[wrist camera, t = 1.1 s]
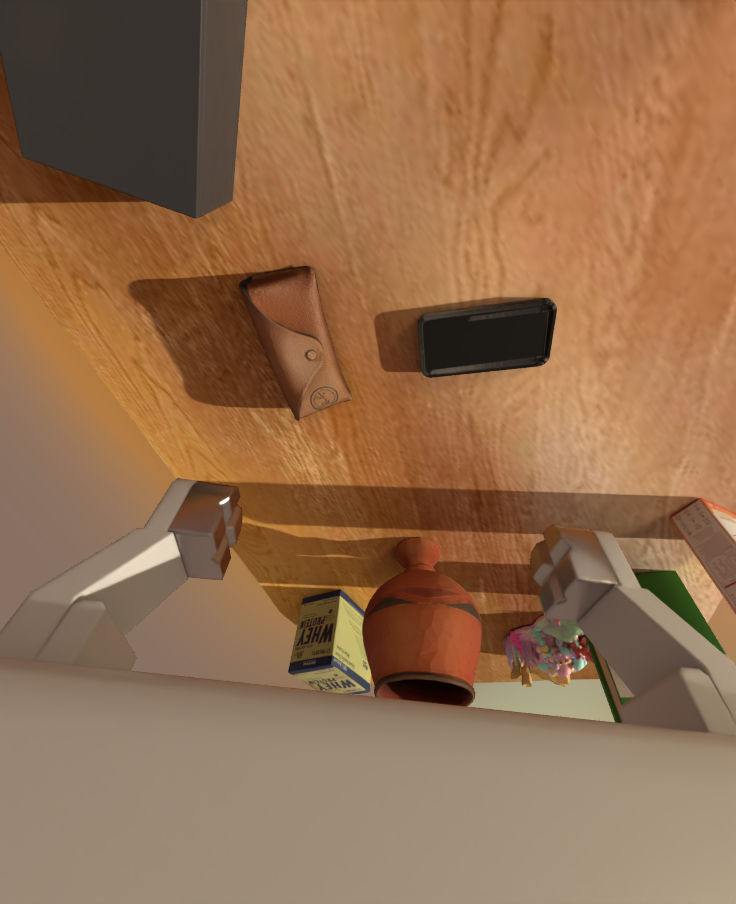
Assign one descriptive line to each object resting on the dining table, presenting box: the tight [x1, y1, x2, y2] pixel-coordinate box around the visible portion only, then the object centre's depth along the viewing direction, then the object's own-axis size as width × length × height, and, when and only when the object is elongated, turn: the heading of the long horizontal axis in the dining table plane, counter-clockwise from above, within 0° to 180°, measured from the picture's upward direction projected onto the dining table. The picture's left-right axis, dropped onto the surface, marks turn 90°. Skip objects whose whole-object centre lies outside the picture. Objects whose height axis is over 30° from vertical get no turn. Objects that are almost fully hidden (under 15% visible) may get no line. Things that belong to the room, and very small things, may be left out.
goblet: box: [362, 537, 482, 707], centre depth 65 cm, size 19×19×25 cm
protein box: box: [288, 590, 371, 694], centre depth 85 cm, size 10×16×16 cm
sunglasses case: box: [239, 266, 352, 421], centre depth 47 cm, size 18×7×7 cm
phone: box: [418, 298, 557, 378], centre depth 46 cm, size 8×1×15 cm
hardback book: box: [584, 571, 727, 723], centre depth 69 cm, size 18×7×24 cm, turn 102°
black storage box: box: [0, 0, 248, 218], centre depth 30 cm, size 15×13×9 cm
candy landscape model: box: [503, 616, 594, 687], centre depth 90 cm, size 25×24×9 cm
